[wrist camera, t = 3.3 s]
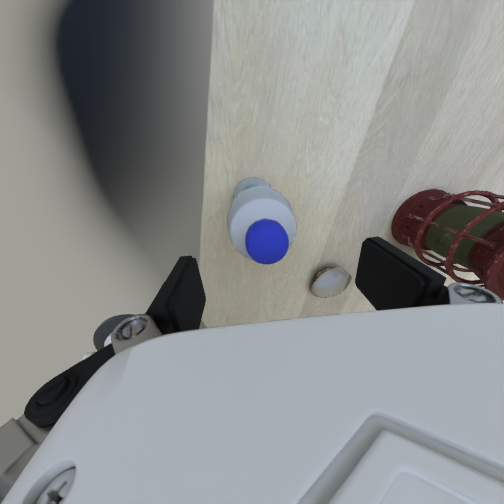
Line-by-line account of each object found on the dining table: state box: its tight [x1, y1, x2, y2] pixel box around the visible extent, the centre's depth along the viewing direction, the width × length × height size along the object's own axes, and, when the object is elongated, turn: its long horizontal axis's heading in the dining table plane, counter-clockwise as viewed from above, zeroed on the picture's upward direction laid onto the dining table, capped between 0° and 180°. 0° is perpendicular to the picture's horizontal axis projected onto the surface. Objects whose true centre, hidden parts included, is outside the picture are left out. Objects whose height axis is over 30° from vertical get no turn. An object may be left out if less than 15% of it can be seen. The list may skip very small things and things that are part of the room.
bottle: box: [227, 177, 296, 264], centre depth 23 cm, size 7×7×20 cm
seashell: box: [311, 266, 352, 298], centre depth 39 cm, size 8×3×8 cm
